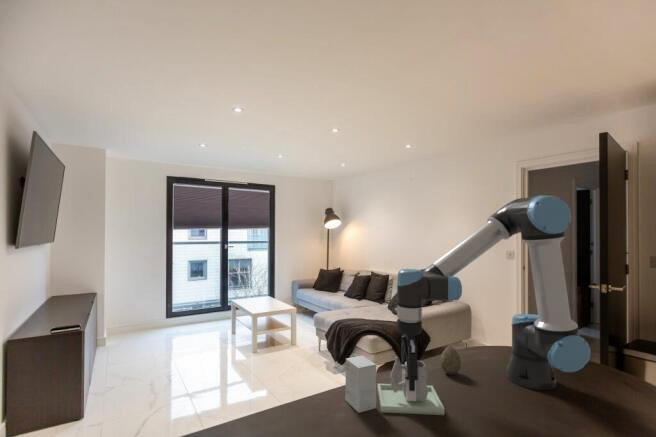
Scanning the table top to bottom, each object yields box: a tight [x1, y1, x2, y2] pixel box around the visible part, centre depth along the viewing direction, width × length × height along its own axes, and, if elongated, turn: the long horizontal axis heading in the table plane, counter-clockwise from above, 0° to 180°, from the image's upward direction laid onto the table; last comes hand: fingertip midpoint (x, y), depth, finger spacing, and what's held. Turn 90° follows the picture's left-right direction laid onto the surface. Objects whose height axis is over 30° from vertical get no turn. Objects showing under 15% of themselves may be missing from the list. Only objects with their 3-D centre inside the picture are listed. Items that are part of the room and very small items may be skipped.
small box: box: [344, 355, 377, 414], centre depth 103 cm, size 8×6×13 cm
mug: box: [389, 356, 428, 401], centre depth 105 cm, size 8×12×12 cm, turn 95°
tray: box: [376, 383, 446, 416], centre depth 105 cm, size 18×14×2 cm
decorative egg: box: [440, 346, 462, 375], centre depth 125 cm, size 7×7×10 cm
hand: (408, 393), depth 105 cm, fingers closed on mug, 7 cm apart
